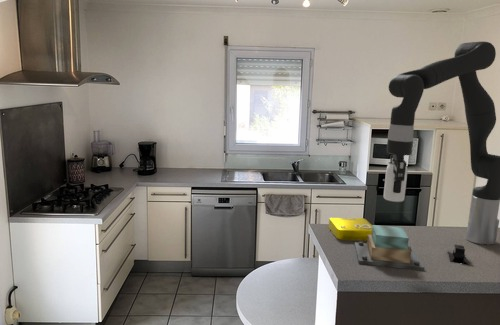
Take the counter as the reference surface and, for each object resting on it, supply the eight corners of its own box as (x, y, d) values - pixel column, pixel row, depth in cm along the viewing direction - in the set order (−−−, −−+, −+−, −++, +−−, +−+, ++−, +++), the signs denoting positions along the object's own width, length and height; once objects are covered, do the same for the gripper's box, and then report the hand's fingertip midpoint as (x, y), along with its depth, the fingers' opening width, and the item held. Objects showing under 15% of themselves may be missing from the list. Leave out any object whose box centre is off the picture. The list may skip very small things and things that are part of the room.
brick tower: (412, 250, 144) (416, 226, 142) (424, 270, 128) (427, 243, 127) (354, 244, 147) (356, 220, 145) (358, 263, 132) (361, 236, 130)
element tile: (363, 227, 167) (364, 216, 166) (377, 241, 152) (378, 229, 151) (327, 227, 166) (328, 215, 165) (337, 241, 151) (338, 228, 150)
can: (404, 198, 136) (409, 163, 133) (403, 203, 130) (407, 166, 128) (384, 195, 138) (388, 160, 136) (381, 200, 132) (385, 163, 130)
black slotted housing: (472, 268, 133) (474, 255, 132) (447, 264, 135) (449, 251, 134) (466, 254, 144) (468, 242, 143) (443, 251, 147) (445, 239, 146)
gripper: (417, 142, 123) (411, 196, 126) (407, 137, 137) (402, 185, 140) (391, 141, 124) (386, 194, 127) (384, 135, 138) (379, 184, 141)
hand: (394, 189), depth 134 cm, fingers closed on can, 6 cm apart
